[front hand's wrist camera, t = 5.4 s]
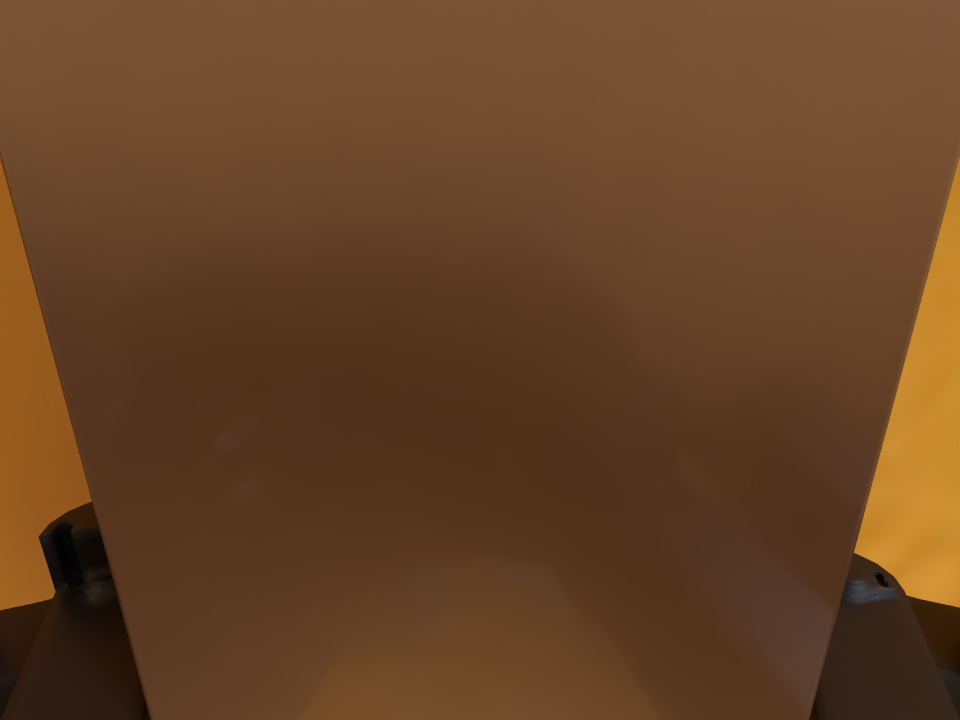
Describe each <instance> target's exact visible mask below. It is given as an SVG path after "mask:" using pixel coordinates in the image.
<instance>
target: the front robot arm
mask: <svg viewBox="0 0 960 720" xmlns="http://www.w3.org/2000/svg"><path fill="white" fill-rule="evenodd" d="M39 539H40V543H41V546H42V549H43V552H44V555H45V559H46V562H47V565H48V568H49V572H50V575H51V578H52V581H53V584H54V588H55V591H56V592H55V595H54V597H53V599H49V600H45V601H42V602H38V603H33V604H28V605H24V606H19V607H14V608H10V609H5V610H0V720H150V716H149V712H148V708H147V705H146V701H145V697H144V693H143V690H142V686H141V682H140V678H139V675H138V671H137V667H136V664H135V660H134V656H133V652H132V649H131V645H130V641H129V637H128V634H127V630H126V626H125V622H124V619H123V615H122V611H121V607H120V604H119V600H118V596H117V592H116V589H115V585H114V581H113V577H112V574H111V570H110V566H109V562H108V559H107V555H106V551H105V547H104V544H103V540H102V536H101V532H100V529H99V525H98V521H97V518H96V514H95V510H94V506H93V503H92V502H90V503H87V504H85V505H82V506H80V507H78V508H75V509H73V510H71V511H68V512H67V513H65V514H64V515H62V516H60V517H59V518H57V519H56V520H54V521H53V522H51V523H50V524H49V525H48V526H47V527H46V529H45V530H44V531H43V532H42V533H41V535H40V536H39ZM809 720H960V608H959V607H954V606H949V605H945V604H940V603H935V602H931V601H926V600H921V599H917V598H914V597H910V596H906V594H905V591H904V590H903V588H902V587H901V586H900V584H899V583H898V581H897V580H896V579H895V577H894V576H892V575H891V574H890V573H888V572H887V571H886V570H885V569H883V568H882V567H881V566H879V565H878V564H876V563H874V562H872V561H870V560H868V559H866V558H864V557H862V556H860V555H858V554H855V553H853V557H852V561H851V564H850V568H849V572H848V576H847V579H846V583H845V587H844V591H843V594H842V598H841V602H840V606H839V609H838V613H837V617H836V621H835V624H834V628H833V632H832V636H831V639H830V643H829V647H828V651H827V654H826V658H825V662H824V666H823V669H822V673H821V677H820V681H819V684H818V688H817V692H816V696H815V699H814V703H813V707H812V711H811V714H810V718H809Z"/></svg>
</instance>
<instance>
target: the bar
mask: <svg viewBox="0 0 960 720" xmlns="http://www.w3.org/2000/svg"><path fill="white" fill-rule="evenodd" d="M959 156H960V0H0V158H1V162H2V166H3V169H4V173H5V177H6V181H7V184H8V188H9V192H10V196H11V199H12V203H13V207H14V211H15V214H16V218H17V222H18V225H19V229H20V233H21V237H22V240H23V244H24V248H25V252H26V255H27V259H28V263H29V267H30V270H31V274H32V278H33V282H34V285H35V289H36V293H37V297H38V300H39V304H40V308H41V312H42V315H43V319H44V323H45V327H46V330H47V334H48V338H49V342H50V345H51V349H52V353H53V357H54V360H55V364H56V368H57V371H58V375H59V379H60V383H61V386H62V390H63V394H64V398H65V401H66V405H67V409H68V413H69V416H70V420H71V424H72V428H73V431H74V435H75V439H76V443H77V446H78V450H79V454H80V458H81V461H82V465H83V469H84V473H85V476H86V480H87V484H88V488H89V491H90V495H91V499H92V503H93V506H94V510H95V514H96V518H97V521H98V525H99V529H100V532H101V536H102V540H103V544H104V547H105V551H106V555H107V559H108V562H109V566H110V570H111V574H112V577H113V581H114V585H115V589H116V592H117V596H118V600H119V604H120V607H121V611H122V615H123V619H124V622H125V626H126V630H127V634H128V637H129V641H130V645H131V649H132V652H133V656H134V660H135V664H136V667H137V671H138V675H139V678H140V682H141V686H142V690H143V693H144V697H145V701H146V705H147V708H148V712H149V716H150V720H809V718H810V714H811V711H812V707H813V703H814V699H815V696H816V692H817V688H818V684H819V681H820V677H821V673H822V669H823V666H824V662H825V658H826V654H827V651H828V647H829V643H830V639H831V636H832V632H833V628H834V624H835V621H836V617H837V613H838V609H839V606H840V602H841V598H842V594H843V591H844V587H845V583H846V579H847V576H848V572H849V568H850V564H851V561H852V557H853V553H854V549H855V546H856V542H857V538H858V534H859V531H860V527H861V523H862V519H863V516H864V512H865V508H866V504H867V501H868V497H869V493H870V490H871V486H872V482H873V478H874V475H875V471H876V467H877V463H878V460H879V456H880V452H881V448H882V445H883V441H884V437H885V433H886V430H887V426H888V422H889V418H890V415H891V411H892V407H893V403H894V400H895V396H896V392H897V388H898V385H899V381H900V377H901V373H902V370H903V366H904V362H905V358H906V355H907V351H908V347H909V343H910V340H911V336H912V332H913V328H914V325H915V321H916V317H917V313H918V310H919V306H920V302H921V298H922V295H923V291H924V287H925V283H926V280H927V276H928V272H929V268H930V265H931V261H932V257H933V253H934V250H935V246H936V242H937V238H938V235H939V231H940V227H941V224H942V220H943V216H944V212H945V209H946V205H947V201H948V197H949V194H950V190H951V186H952V182H953V179H954V175H955V171H956V167H957V164H958V160H959Z"/></svg>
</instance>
